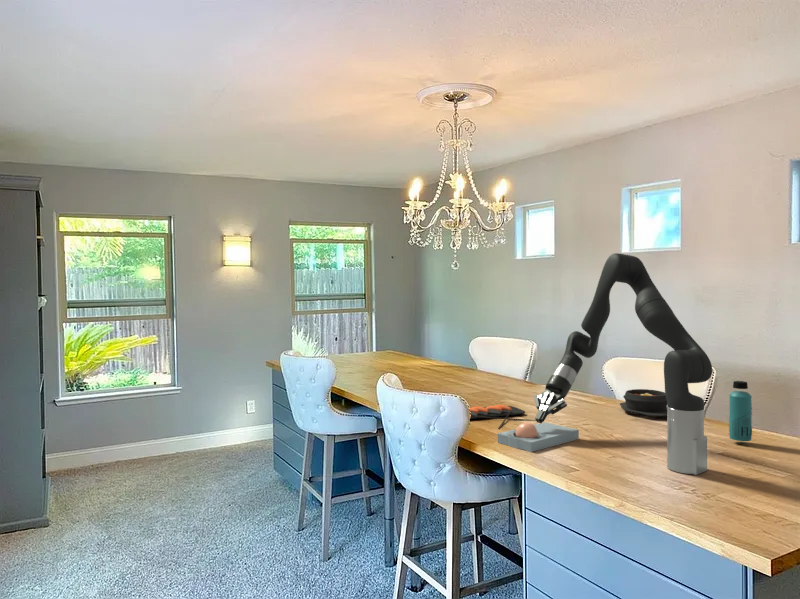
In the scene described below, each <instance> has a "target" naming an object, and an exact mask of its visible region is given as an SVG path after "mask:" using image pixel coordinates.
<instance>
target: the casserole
mask: <svg viewBox="0 0 800 599" xmlns="http://www.w3.org/2000/svg"><path fill="white" fill-rule="evenodd" d="M622 397H623V398H624V400H625V402H620V403H619V405H620V408H621V409H622V410H624V411H627V412H629V413H631V414H634V415H637V416H641V415H642V417H667V399H666V395H665V391H661V390H656V389H646V388H644V389H643V388H640V389H637V388H634V389H628V390H625V393H624V395H623V396H622Z"/></svg>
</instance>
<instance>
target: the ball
mask: <svg viewBox="0 0 800 599" xmlns="http://www.w3.org/2000/svg"><path fill="white" fill-rule="evenodd" d="M534 425H535V424H532V423H531V422H522V423H520V424H519V425H517V427H516V428H515V429H516V437H520V438H536V437H537V436H538V433H537V429H536V428H535V426H534Z"/></svg>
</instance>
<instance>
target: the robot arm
mask: <svg viewBox="0 0 800 599" xmlns="http://www.w3.org/2000/svg"><path fill="white" fill-rule="evenodd" d="M615 283H623V284H627V285H629V287H630V288H631V289H632V291H633V292H634V293H635V296H636V297H635V301H634V302H635V303H634V311H635V314H636V316H637V317H638V319H639V321H640V323H641V324H642V325H643V328H645V329H646V331H647V332H648V333H650V334H651V335H653V336H654V338H655V337H656V338H657V339H659V340H660V341H661V342H663V343H665V344H666V345H668V346H669V347H670V348H672V350H670V351H669V352H668V353H666V355H665V357H664V361H663V377H664V378H663V380H664V392H665V395H666V399H667V416H666V419H667V420H666V421H667V422H666V429H667V430H666V434H667V435H666V438H667V440H666V442H667V443H666V450H667V451H666V453H667V454H666V455H667V456H666V462H667V463H666V464H667V466H666V467H667V469H669V470H670V471H673V472H676V473H681V474H687V475H688V474H689V475H695V476H697V475H700V474H702V473H705V472H706V471H708V437H707V435H705V400H704V399H703V397H701V396H699V395H695V394H692V393H691V392H690V390H689V384H701V383H704V382H707V381H709V380H710V379H711V377H712V375H713V366H712V362H711V360H710V358H709V356H708V354H707V353H706V351H705V350H704V349H703V348H702V347H701V346H700V345H699V344H698V343H697V342H696V340H695V339H694V338H693V337H692V335H691V334H690V333H689V332H688V331H687V330H686V328H685V327H684V326H683V324H682V323H681V322H680V320H679V319H678V318H677V316H676V314H675V313H674V311H673V309H672V308H671V306H670V305H669V304H668V302H667V300H665V298H664V297H663V296H662V294H661V292H660V291H659V289H658V288H657V286H656V285H655V283H654V282H653V280H652V278H651V276H650V274H649V273H648V270H647V268H646V266H645V265H644V263H643V261H642V260H641V259H640V258H638V257H637V256H634V255H630V254H625V253H619V252H618V253H617V252H616V253H612V254H610V255H609V256H608V258H607V259H606V261H605V263H604V265H603V267H602V270H601V274H600V276H599V280H598V283H597V286H596V290H595V293H594V295H593V299H592V301H591V303H590V306H589V308H588V310H587V312H586V314H585V316H584V318H583V320H582V322H581V323H580V326H581V328H582V330H583V331H584V332H585V333H586V334H588V335H586V334H584V333H583V332H580V331H576V330H575V331H573V332H571V333H570V334H569V336H568V337H567V341H566V344H565V345H566V346H565V349H564V350H565V351H564V353H563V356H562V358H561V360H560V361H559V363H558V365H557V366H556V368H555V369H554V370H553V372H552V374H551V375H550V377H549V379H548V380H547V383H546V384H545V388H544V390H543V391H542V392H541V394H534V395H533V398H534V404H535V408H536V409H537V413H536V416H535V418H534V420H536V421H535V422H536V423H537V424H540V423H544V422H545V420H546V418H547V417H548V416H549V415H550V414H551V415H555V414H556V413H558V412H560V411H561V410H563V409H565V408H566V407H567V406H568V404H567V402H566V401H565V398H566V397H567V396H568V394H569V392H570V389H571V388H572V386H573V384H574V383H575V381H576V378H577V376H578V374H579V372H580V371H581V369H582V367H583V362H584V361H583V359H582V358H581V357H580V356H582V357H584V358H586V359H590V358H592V357H594V356H595V355H596V353H597V352H598V346H599V341H600V336H601V333H602V330H603V328H604V327H605V325H606V323H607V321H608V319H609V316H610V313H611V300H610V294H611V291H612V288H613V286H614V285H615ZM578 355H580V356H578Z"/></svg>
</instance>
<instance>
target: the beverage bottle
mask: <svg viewBox="0 0 800 599" xmlns="http://www.w3.org/2000/svg"><path fill="white" fill-rule="evenodd" d="M732 388H733V389H738V390H733V391H732V392H731V393H729V419H728V422H729V424H728V426H729V427H728V435H729V438H730V439H731V440H733V441H737V442H751V441H752V438H753V437H752V436H753V426H752V424H753V421H752V420H753V419H752V416H753V411H752V410H753V407H752V399H753V398H752V395H751V394H750V393H749V392H748V391H743V390H747V389H749V387H748V382H747V381H742V380H735V381H733V385H732Z"/></svg>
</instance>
